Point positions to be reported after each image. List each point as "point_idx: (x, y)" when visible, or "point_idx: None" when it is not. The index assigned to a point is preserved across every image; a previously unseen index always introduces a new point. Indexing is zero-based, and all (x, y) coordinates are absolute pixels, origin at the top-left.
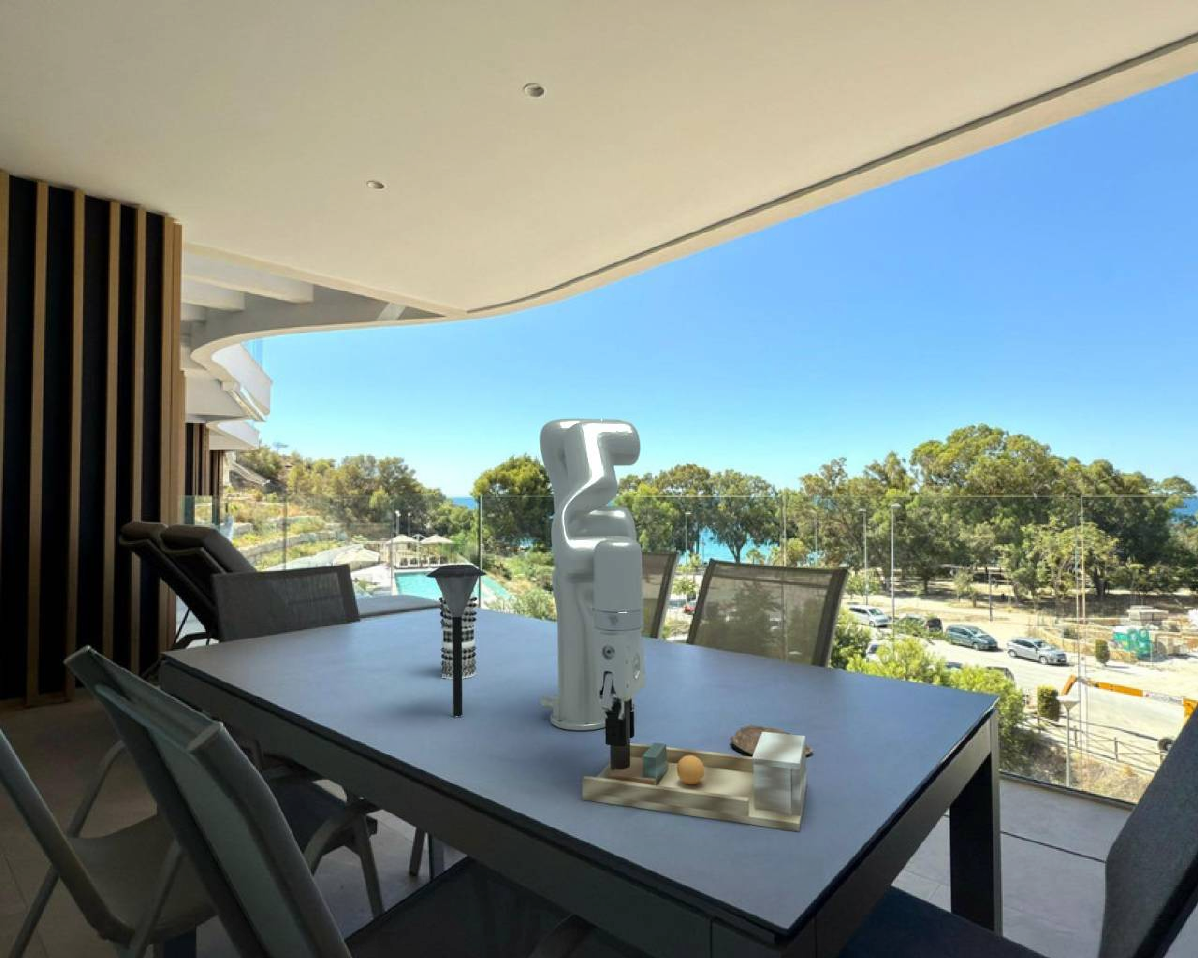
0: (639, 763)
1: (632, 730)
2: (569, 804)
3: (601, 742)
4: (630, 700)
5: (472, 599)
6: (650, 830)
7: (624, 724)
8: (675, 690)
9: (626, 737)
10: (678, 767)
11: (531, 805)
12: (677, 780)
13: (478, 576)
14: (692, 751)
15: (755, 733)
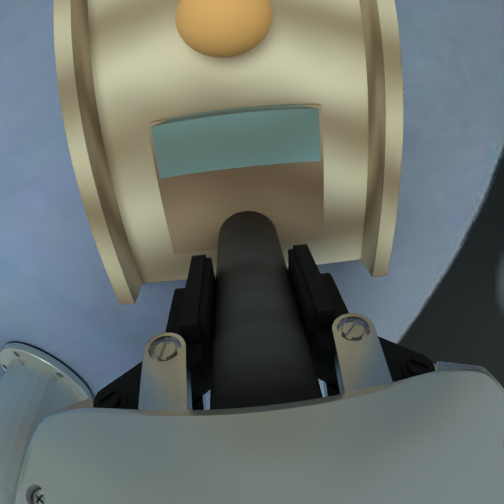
0: (207, 195)
1: (205, 271)
2: (391, 260)
3: (83, 333)
4: (188, 386)
5: None
6: (449, 80)
7: (326, 297)
8: None
9: (299, 258)
10: (256, 42)
11: (401, 307)
12: (220, 64)
13: None
14: (69, 81)
15: None
